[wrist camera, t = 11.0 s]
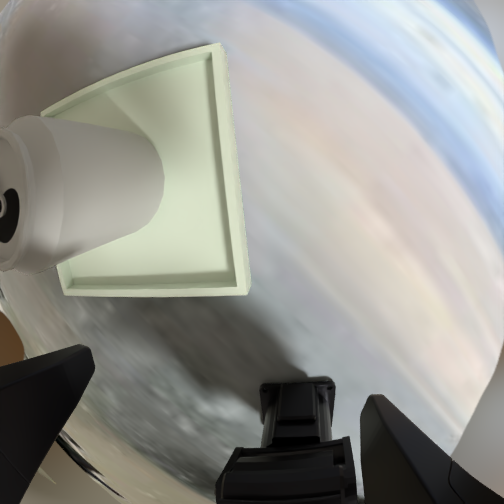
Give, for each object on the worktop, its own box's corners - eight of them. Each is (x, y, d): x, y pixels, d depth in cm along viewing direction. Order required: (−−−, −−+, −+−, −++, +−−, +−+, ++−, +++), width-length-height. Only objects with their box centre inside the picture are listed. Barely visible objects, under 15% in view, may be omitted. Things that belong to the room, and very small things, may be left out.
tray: (251, 284, 20) (247, 294, 19) (77, 287, 23) (64, 295, 21) (226, 53, 16) (219, 42, 15) (54, 114, 19) (40, 111, 17)
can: (124, 251, 20) (4, 315, 9) (76, 180, 20) (-46, 199, 8) (190, 187, 18) (59, 208, 7) (133, 113, 18) (2, 79, 6)
